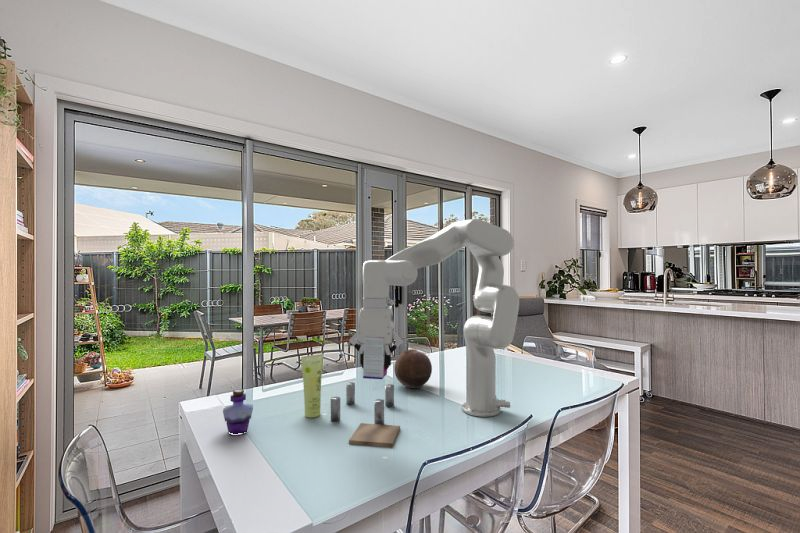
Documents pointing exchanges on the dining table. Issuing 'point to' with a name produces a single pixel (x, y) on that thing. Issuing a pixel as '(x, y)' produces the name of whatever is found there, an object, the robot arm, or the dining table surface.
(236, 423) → the potion bottle
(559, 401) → the dining table surface
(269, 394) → the dining table surface
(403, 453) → the dining table surface
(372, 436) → the walnut pad
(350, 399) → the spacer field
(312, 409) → the tube
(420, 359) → the wooden sphere
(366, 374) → the supplement box
